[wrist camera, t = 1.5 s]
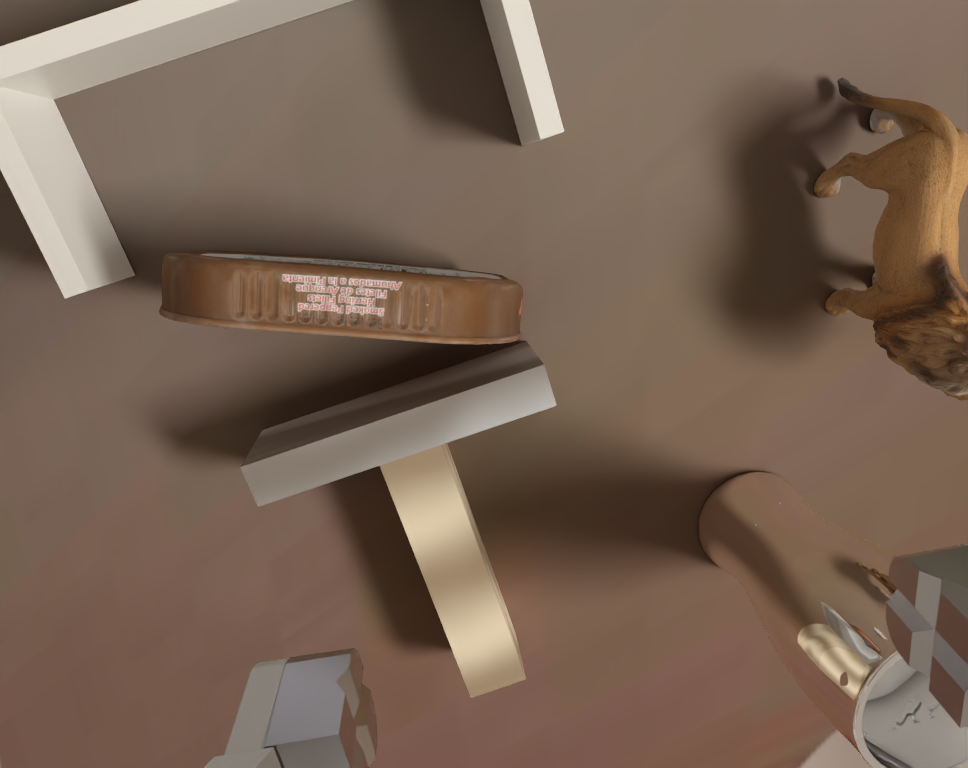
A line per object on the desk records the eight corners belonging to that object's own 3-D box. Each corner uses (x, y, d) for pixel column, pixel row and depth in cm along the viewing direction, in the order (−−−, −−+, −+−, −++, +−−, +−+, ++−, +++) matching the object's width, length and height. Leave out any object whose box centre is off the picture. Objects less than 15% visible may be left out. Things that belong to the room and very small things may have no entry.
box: (541, 139, 33) (564, 131, 28) (114, 282, 33) (64, 298, 28) (483, -71, 31) (496, -118, 26) (20, 83, 31) (-53, 64, 26)
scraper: (606, 601, 40) (633, 656, 36) (373, 680, 40) (368, 747, 36) (525, 340, 36) (544, 364, 31) (262, 429, 36) (240, 467, 31)
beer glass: (833, 509, 40) (1069, 689, 26) (749, 597, 41) (930, 817, 27) (750, 439, 39) (952, 589, 24) (664, 533, 40) (810, 730, 25)
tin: (193, 301, 34) (125, 338, 26) (193, 234, 33) (122, 249, 25) (506, 325, 36) (534, 366, 28) (513, 261, 35) (544, 284, 27)
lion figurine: (928, 344, 38) (1079, 390, 30) (835, 378, 38) (959, 434, 30) (881, 62, 34) (1042, 20, 25) (777, 100, 34) (902, 71, 25)
